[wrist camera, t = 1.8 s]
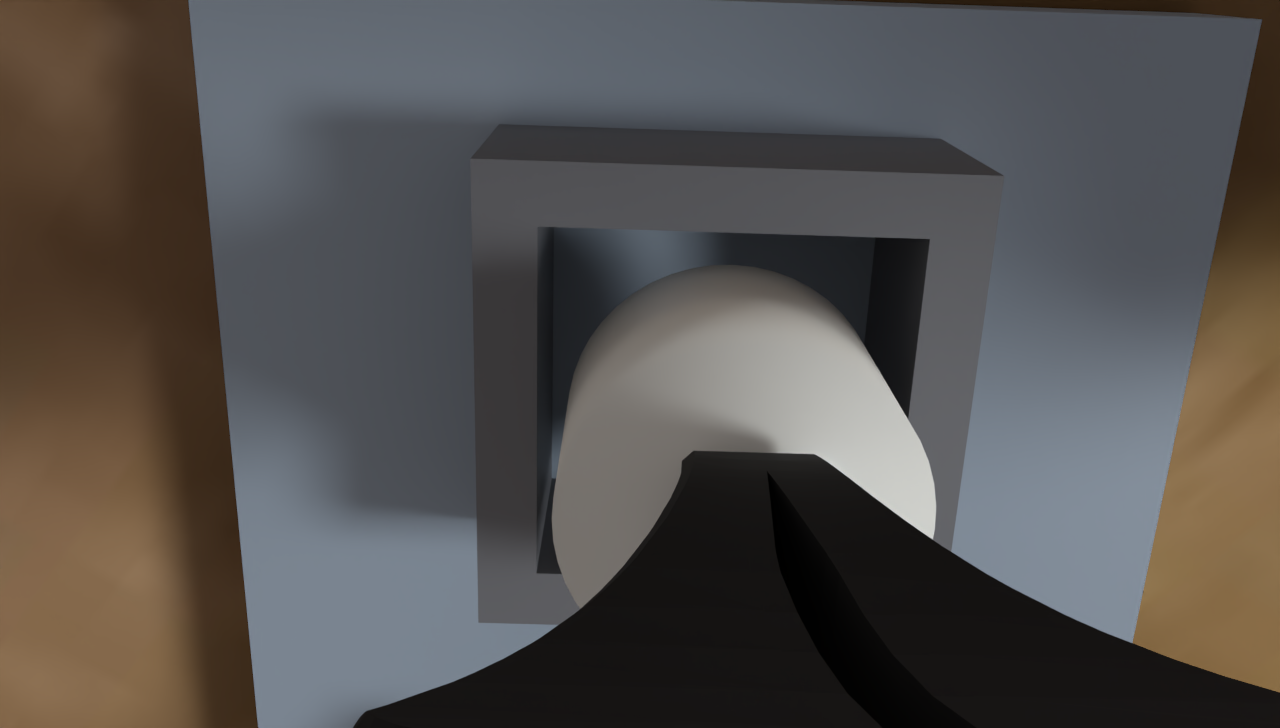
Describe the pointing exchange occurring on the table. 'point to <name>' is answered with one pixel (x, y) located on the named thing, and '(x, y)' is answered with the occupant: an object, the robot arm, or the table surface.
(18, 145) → the table surface
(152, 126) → the table surface
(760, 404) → the cream plunger
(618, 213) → the panel
